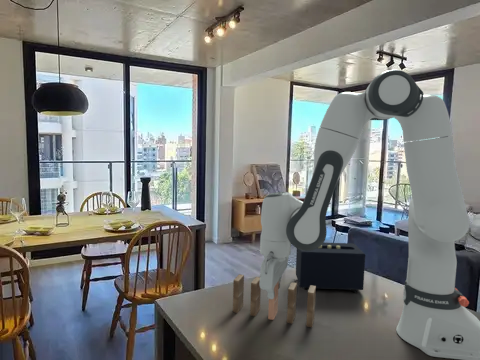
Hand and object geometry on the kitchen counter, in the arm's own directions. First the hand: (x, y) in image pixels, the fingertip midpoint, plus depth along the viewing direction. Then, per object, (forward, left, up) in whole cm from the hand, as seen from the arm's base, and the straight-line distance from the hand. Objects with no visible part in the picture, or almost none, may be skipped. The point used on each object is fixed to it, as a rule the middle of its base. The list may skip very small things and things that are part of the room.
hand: (273, 293), depth 101 cm
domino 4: (-5, 0, -7) cm, 9 cm away
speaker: (-13, -29, -7) cm, 32 cm away
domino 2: (+6, 0, -7) cm, 9 cm away
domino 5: (-11, 0, -7) cm, 13 cm away
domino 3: (0, 0, -7) cm, 7 cm away
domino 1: (+11, 0, -7) cm, 13 cm away
